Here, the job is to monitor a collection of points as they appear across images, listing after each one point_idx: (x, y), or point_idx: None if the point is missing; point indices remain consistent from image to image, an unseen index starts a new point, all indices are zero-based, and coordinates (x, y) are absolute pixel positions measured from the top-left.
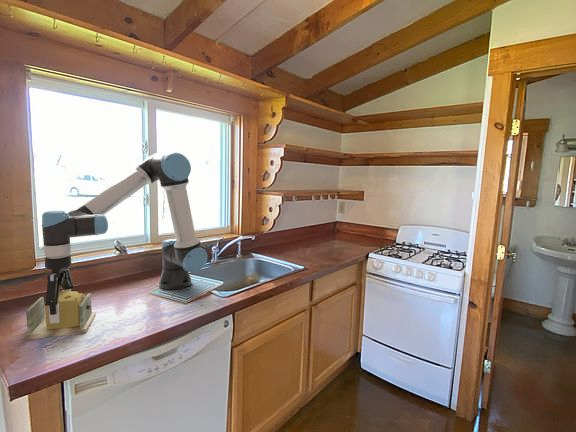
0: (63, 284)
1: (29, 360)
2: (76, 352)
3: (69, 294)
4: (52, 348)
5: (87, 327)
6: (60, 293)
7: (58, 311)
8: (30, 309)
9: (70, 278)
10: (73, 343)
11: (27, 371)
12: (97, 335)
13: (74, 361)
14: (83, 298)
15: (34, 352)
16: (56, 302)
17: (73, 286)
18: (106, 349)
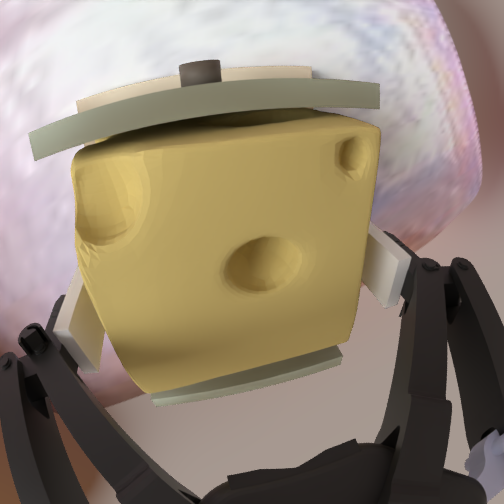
0: (108, 415)
1: (429, 199)
2: (432, 82)
3: (189, 285)
4: (393, 162)
5: (279, 66)
6: (174, 357)
7: (377, 228)
8: (331, 360)
9: (20, 425)
10: (380, 100)
11: (464, 182)
12: (335, 19)
13: (463, 84)
14: (148, 141)
15: (397, 207)
16: (439, 267)
17: (23, 336)
18: (429, 3)
